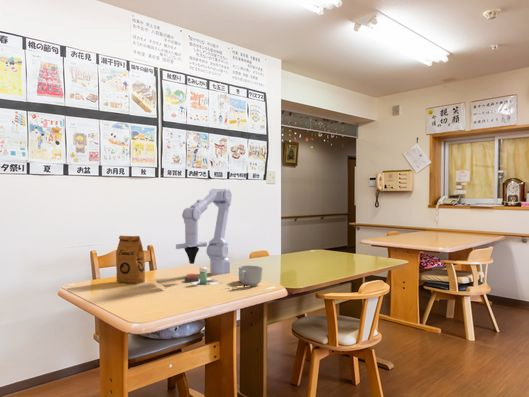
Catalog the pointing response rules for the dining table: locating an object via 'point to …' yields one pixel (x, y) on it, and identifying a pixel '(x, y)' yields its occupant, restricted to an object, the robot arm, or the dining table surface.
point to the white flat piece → (197, 281)
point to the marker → (203, 275)
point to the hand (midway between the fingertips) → (191, 263)
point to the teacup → (250, 275)
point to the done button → (191, 276)
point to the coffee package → (130, 260)
